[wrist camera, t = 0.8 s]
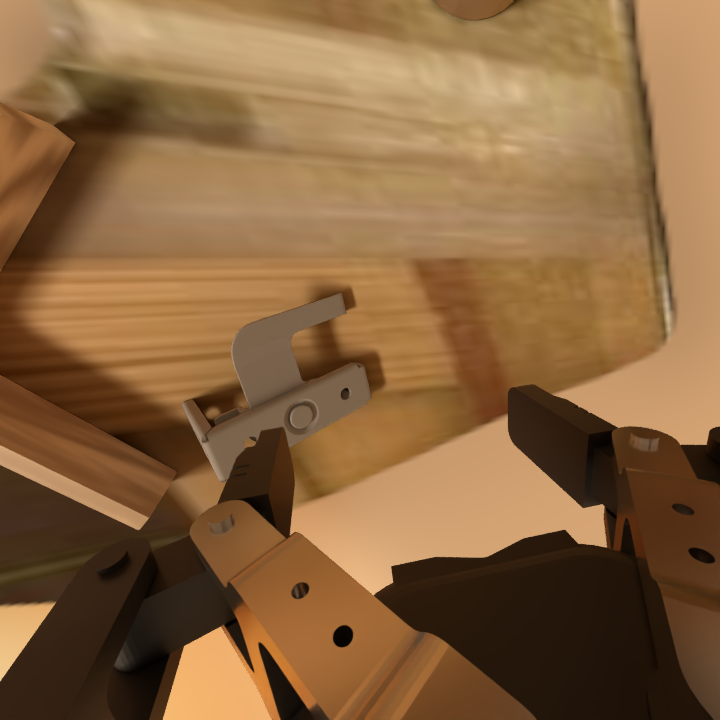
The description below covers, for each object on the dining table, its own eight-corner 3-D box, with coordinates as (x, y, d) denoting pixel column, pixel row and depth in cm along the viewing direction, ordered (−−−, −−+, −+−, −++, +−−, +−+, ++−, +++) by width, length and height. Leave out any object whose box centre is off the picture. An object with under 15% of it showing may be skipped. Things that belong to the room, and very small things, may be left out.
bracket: (151, 338, 29) (162, 355, 21) (297, 292, 36) (348, 291, 28) (198, 439, 33) (222, 487, 25) (323, 379, 40) (375, 401, 32)
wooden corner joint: (49, 122, 24) (-35, 86, 18) (301, 319, 30) (297, 337, 25) (-88, 369, 28) (-190, 401, 23) (158, 495, 35) (126, 545, 29)
